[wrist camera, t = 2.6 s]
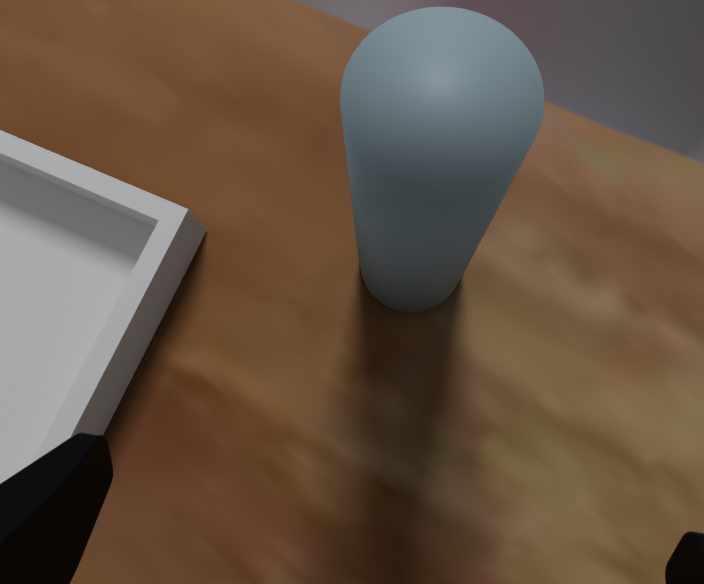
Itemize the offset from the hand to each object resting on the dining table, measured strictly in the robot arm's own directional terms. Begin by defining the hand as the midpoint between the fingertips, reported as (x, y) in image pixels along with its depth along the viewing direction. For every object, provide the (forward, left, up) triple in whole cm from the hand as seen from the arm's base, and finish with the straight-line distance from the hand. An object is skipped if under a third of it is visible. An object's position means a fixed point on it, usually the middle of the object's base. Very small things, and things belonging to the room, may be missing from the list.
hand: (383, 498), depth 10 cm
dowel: (+2, -7, -14) cm, 15 cm away
